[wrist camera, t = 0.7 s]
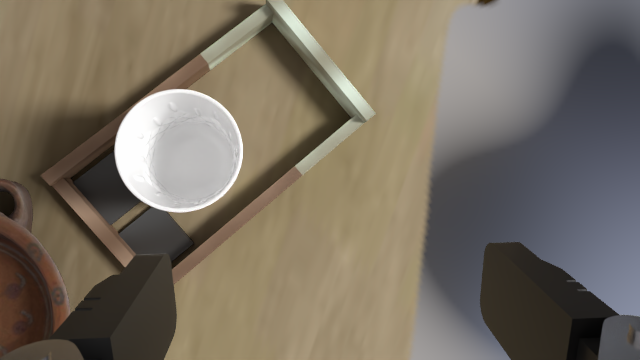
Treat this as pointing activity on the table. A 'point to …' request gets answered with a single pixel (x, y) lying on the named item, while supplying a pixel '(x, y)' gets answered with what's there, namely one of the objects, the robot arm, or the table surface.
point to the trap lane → (104, 179)
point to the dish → (26, 279)
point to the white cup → (178, 150)
